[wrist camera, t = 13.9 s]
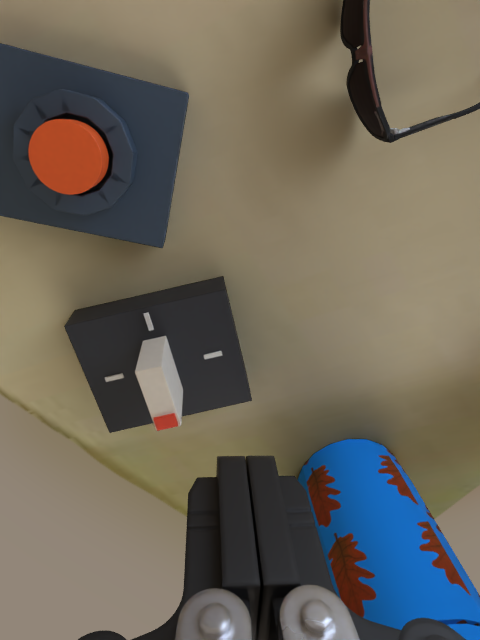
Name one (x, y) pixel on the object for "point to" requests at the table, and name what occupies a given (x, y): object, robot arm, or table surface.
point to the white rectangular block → (160, 383)
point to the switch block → (117, 133)
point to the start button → (68, 156)
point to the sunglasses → (373, 76)
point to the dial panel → (184, 341)
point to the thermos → (385, 541)
